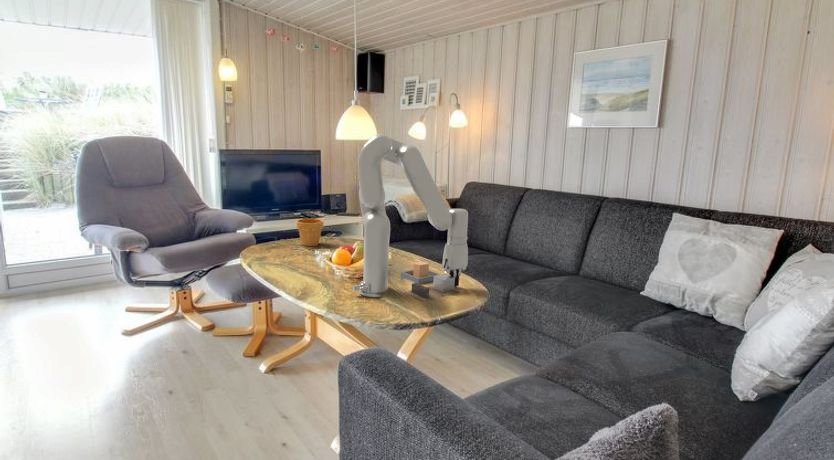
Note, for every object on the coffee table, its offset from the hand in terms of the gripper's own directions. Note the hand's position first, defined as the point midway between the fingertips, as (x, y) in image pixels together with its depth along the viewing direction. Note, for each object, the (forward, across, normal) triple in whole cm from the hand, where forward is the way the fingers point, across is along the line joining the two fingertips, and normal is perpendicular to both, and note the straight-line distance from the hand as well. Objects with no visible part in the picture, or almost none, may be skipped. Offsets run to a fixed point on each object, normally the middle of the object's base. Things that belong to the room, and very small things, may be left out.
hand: (454, 285), depth 192 cm
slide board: (+2, +10, 0) cm, 10 cm away
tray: (+2, +4, -17) cm, 17 cm away
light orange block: (+1, +3, -17) cm, 17 cm away
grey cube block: (0, +6, 0) cm, 6 cm away
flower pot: (+3, +12, -101) cm, 102 cm away
